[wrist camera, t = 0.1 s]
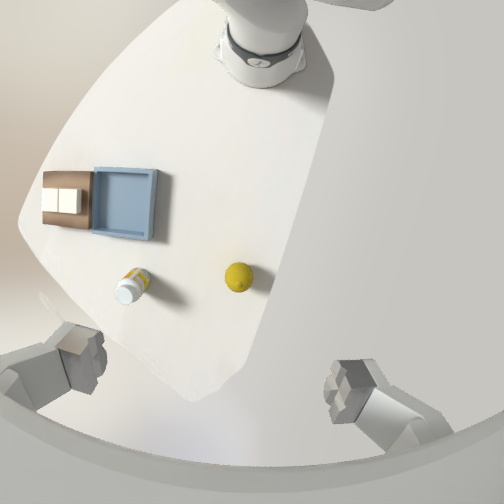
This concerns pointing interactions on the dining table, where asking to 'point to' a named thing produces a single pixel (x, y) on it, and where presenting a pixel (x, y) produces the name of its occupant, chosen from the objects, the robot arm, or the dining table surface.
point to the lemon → (239, 277)
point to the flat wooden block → (86, 184)
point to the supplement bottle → (132, 286)
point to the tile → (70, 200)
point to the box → (124, 202)
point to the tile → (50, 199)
